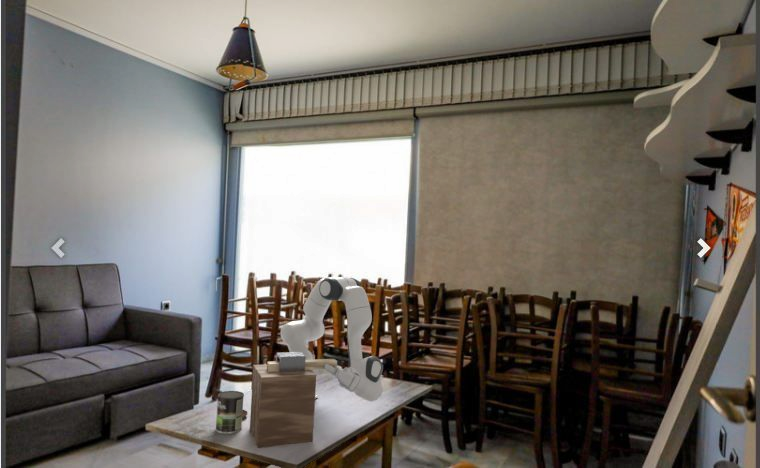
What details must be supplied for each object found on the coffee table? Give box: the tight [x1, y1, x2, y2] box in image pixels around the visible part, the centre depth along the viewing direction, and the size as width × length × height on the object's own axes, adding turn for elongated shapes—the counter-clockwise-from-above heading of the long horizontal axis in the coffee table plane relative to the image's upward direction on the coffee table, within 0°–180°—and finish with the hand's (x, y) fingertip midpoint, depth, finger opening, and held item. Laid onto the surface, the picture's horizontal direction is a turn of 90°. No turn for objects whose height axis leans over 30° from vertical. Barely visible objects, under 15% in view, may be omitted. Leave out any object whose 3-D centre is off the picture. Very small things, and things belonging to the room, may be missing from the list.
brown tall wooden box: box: [249, 363, 317, 449], centre depth 198 cm, size 20×21×26 cm
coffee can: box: [215, 390, 245, 435], centre depth 201 cm, size 10×10×14 cm
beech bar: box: [266, 358, 338, 372], centre depth 201 cm, size 4×28×3 cm, turn 113°
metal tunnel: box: [275, 351, 306, 372], centre depth 199 cm, size 8×10×6 cm
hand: (322, 363), depth 204 cm, fingers open, 6 cm apart
